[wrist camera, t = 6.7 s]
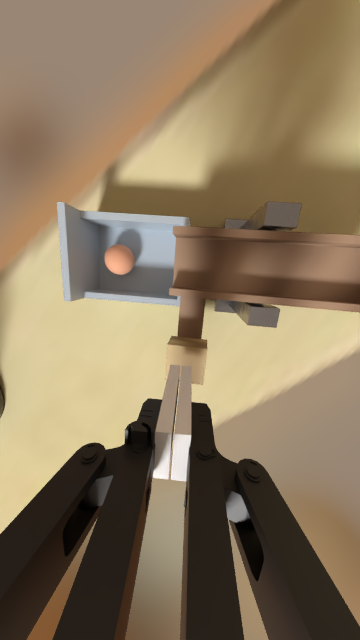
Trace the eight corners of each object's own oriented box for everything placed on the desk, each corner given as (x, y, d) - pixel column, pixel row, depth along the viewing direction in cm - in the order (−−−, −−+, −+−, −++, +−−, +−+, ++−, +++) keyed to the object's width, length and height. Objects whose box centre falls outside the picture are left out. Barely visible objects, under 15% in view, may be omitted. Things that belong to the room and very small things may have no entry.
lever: (169, 363, 22) (163, 379, 19) (177, 232, 19) (172, 224, 15) (343, 386, 20) (369, 407, 17) (388, 243, 17) (431, 237, 13)
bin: (97, 293, 27) (64, 300, 20) (94, 220, 25) (56, 202, 18) (185, 300, 26) (181, 310, 19) (190, 227, 24) (189, 209, 17)
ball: (124, 274, 26) (99, 273, 24) (124, 246, 25) (98, 242, 23) (140, 276, 24) (113, 275, 21) (140, 246, 23) (113, 241, 20)
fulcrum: (214, 310, 26) (224, 332, 17) (225, 220, 23) (244, 187, 14) (317, 319, 26) (386, 346, 16) (341, 227, 23) (440, 198, 14)
